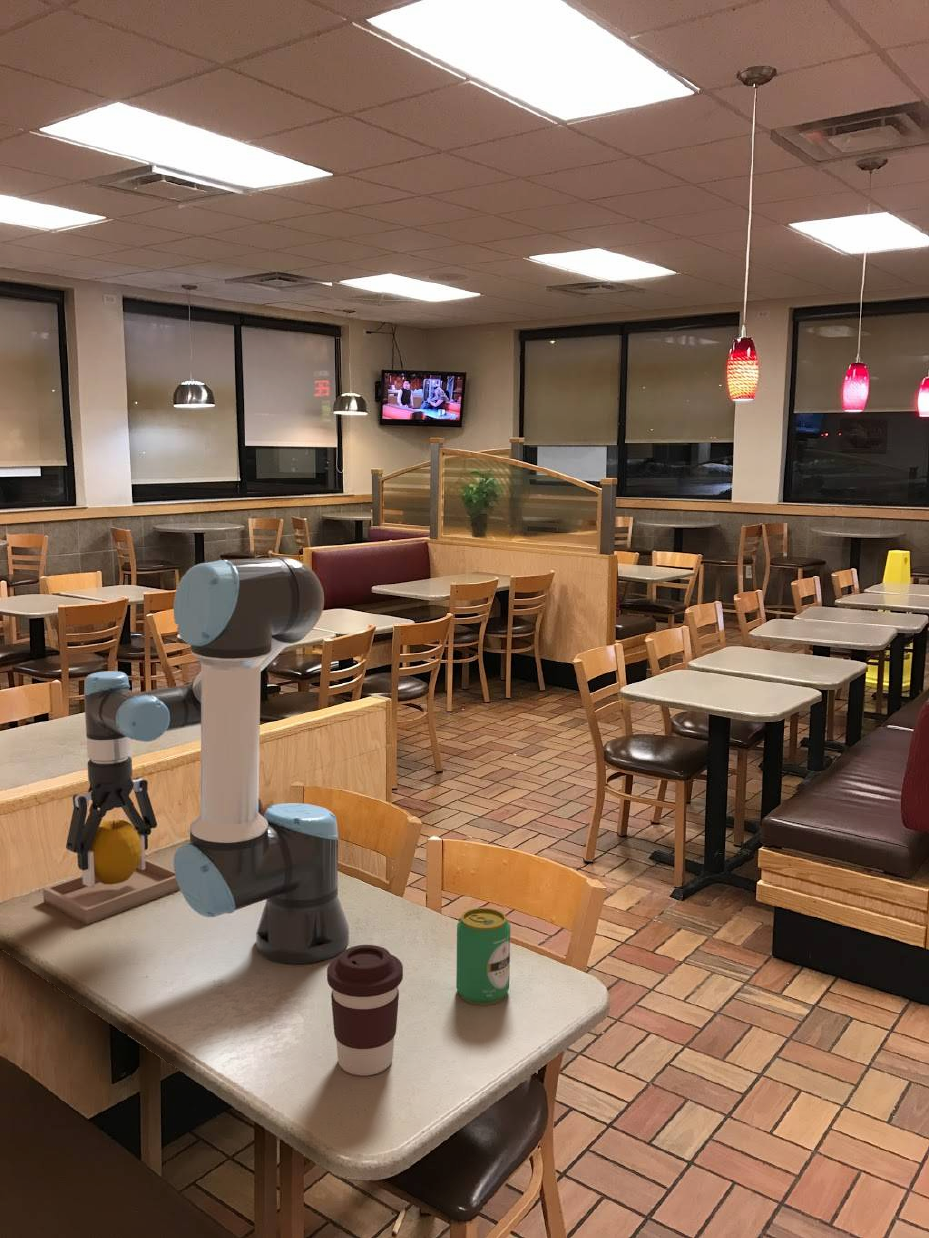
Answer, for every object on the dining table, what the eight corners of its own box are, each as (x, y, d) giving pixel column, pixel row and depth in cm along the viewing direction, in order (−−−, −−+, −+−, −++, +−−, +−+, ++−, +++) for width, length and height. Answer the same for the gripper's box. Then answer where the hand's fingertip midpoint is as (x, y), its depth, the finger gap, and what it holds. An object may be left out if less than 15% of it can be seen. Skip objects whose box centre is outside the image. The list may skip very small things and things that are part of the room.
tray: (140, 868, 198) (140, 855, 198) (184, 887, 189) (184, 874, 189) (43, 901, 182) (43, 888, 182) (86, 924, 174) (86, 910, 173)
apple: (109, 897, 179) (106, 834, 177) (75, 884, 184) (71, 823, 182) (153, 879, 187) (151, 818, 185) (119, 867, 192) (117, 808, 190)
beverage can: (486, 1012, 148) (487, 934, 146) (445, 993, 153) (446, 918, 151) (519, 991, 154) (521, 916, 152) (479, 973, 159) (480, 901, 157)
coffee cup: (403, 1040, 140) (403, 938, 138) (401, 1083, 131) (401, 974, 128) (331, 1040, 140) (330, 938, 138) (324, 1084, 130) (323, 974, 128)
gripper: (150, 741, 193) (155, 853, 196) (39, 767, 176) (46, 890, 179) (174, 748, 188) (178, 863, 192) (63, 776, 171) (69, 901, 174)
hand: (114, 876), depth 185 cm, fingers closed on apple, 10 cm apart
